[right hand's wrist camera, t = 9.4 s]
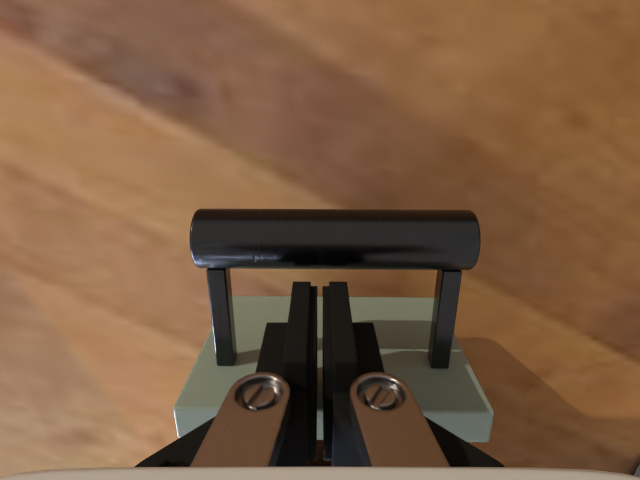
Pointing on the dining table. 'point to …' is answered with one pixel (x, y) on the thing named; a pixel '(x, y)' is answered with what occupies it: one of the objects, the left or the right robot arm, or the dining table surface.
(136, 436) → the dining table surface
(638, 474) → the hard drive box
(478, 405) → the drawer
